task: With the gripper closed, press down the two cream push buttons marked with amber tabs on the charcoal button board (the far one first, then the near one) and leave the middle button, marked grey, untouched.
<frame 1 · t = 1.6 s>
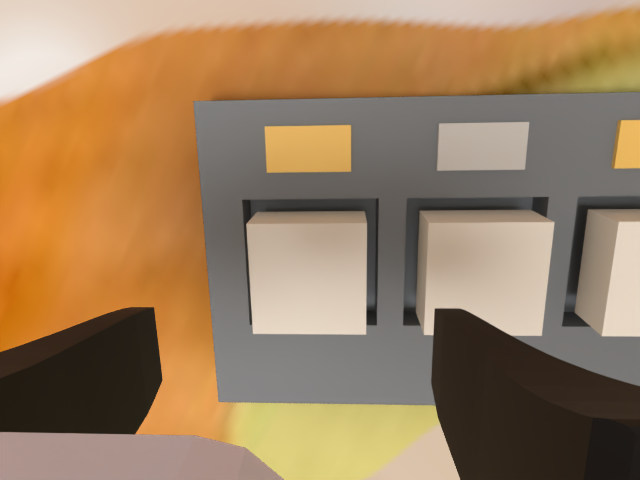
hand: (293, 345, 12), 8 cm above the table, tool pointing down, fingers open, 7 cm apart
button board: (460, 249, 20), on the table
button middle: (478, 271, 17), point 3 cm above the table, slide at 0.0 cm
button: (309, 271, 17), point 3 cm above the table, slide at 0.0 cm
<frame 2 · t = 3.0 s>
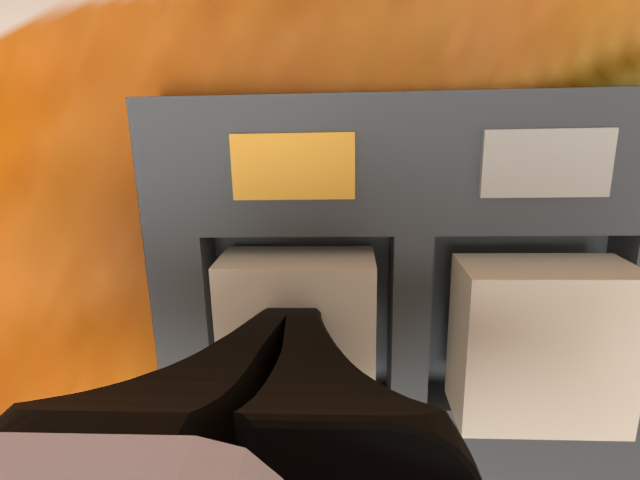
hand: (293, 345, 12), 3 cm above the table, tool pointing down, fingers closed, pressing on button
button board: (502, 299, 14), on the table
button middle: (539, 342, 12), point 3 cm above the table, slide at 0.0 cm
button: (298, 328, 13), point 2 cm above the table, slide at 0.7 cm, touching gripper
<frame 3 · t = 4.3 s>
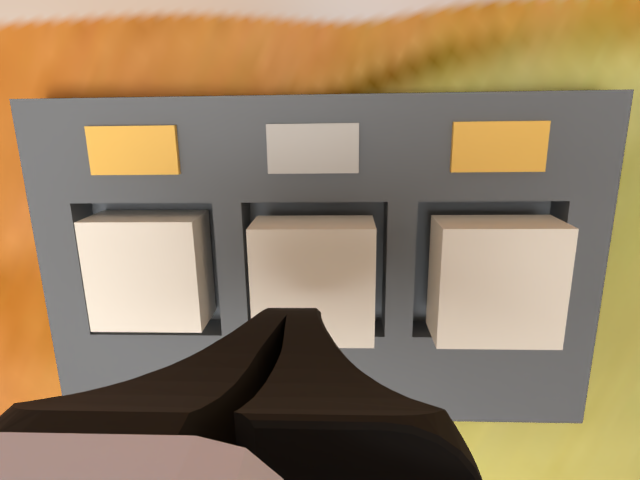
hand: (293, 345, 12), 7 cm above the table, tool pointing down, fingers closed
button board: (317, 255, 19), on the table
button middle: (313, 279, 16), point 3 cm above the table, slide at 0.0 cm
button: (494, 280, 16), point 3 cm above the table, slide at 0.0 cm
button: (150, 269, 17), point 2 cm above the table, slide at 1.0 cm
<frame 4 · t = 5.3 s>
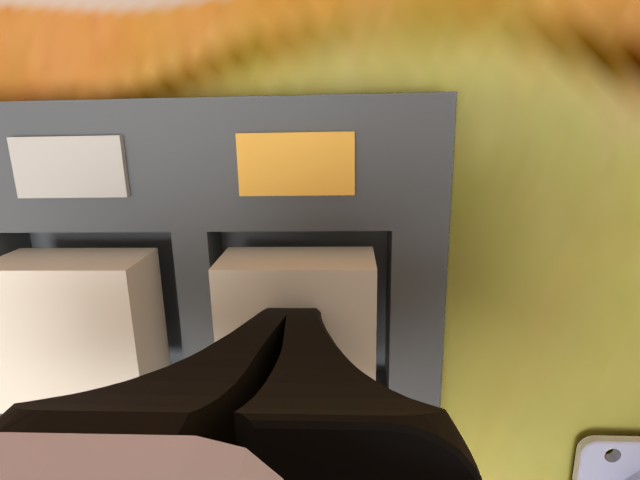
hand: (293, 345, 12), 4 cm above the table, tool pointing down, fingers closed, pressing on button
button board: (125, 291, 16), on the table
button middle: (79, 328, 13), point 3 cm above the table, slide at 0.0 cm
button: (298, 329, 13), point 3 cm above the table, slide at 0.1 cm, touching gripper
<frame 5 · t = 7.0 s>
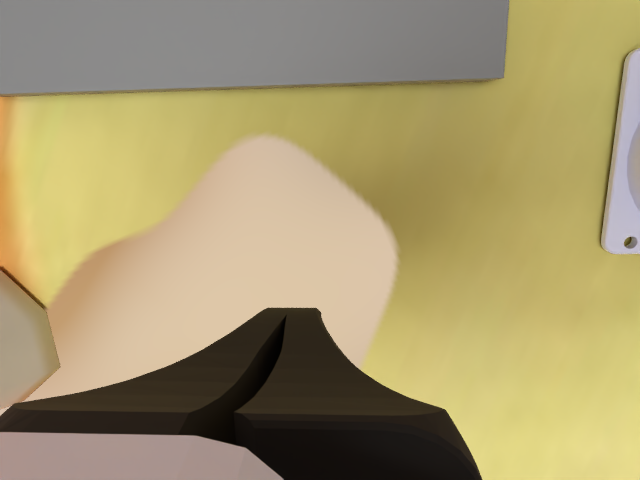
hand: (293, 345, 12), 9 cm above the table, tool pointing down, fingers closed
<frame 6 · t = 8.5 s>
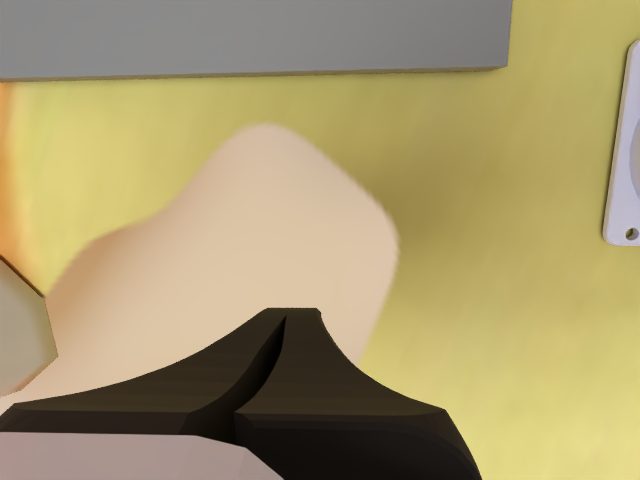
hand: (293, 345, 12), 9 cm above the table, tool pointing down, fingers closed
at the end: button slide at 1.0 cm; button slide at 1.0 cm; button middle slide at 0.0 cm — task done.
